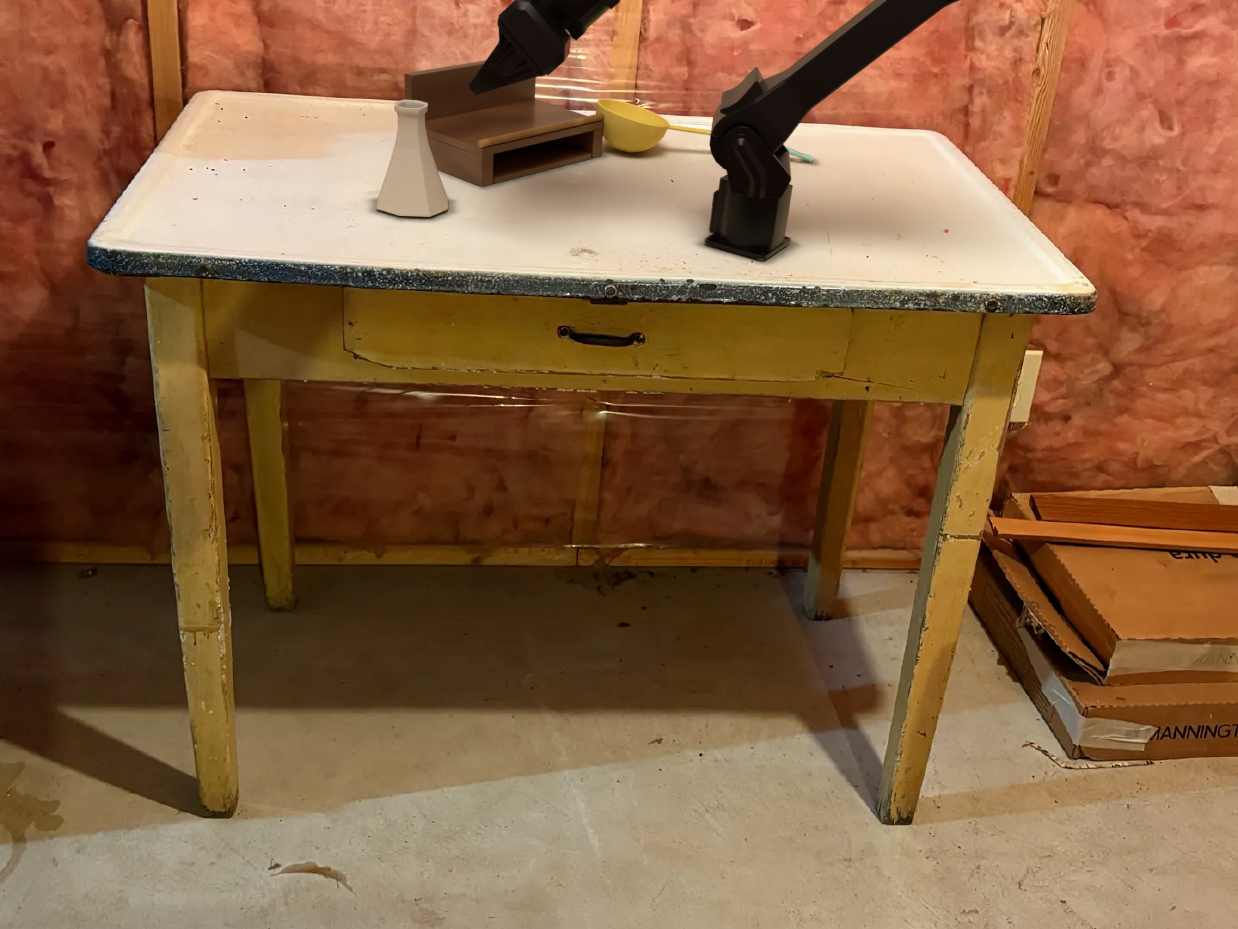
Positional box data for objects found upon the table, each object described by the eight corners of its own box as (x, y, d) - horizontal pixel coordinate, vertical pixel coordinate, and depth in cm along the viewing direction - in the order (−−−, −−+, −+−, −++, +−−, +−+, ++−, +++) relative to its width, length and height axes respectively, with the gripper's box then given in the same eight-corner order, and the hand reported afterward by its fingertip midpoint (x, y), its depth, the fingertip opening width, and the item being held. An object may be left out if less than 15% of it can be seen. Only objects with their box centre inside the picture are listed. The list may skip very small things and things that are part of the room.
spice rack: (601, 155, 132) (607, 75, 127) (481, 186, 119) (483, 99, 115) (526, 130, 138) (529, 52, 134) (405, 157, 126) (403, 73, 121)
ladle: (585, 129, 137) (598, 82, 135) (788, 190, 142) (806, 145, 140) (587, 148, 130) (602, 98, 127) (802, 212, 135) (821, 165, 132)
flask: (435, 223, 109) (434, 118, 104) (363, 212, 110) (359, 108, 105) (459, 200, 115) (460, 99, 110) (391, 190, 116) (388, 90, 111)
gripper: (564, -127, 104) (445, -11, 111) (529, -108, 89) (393, 26, 95) (642, -25, 108) (523, 81, 115) (621, 10, 92) (484, 132, 99)
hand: (482, 78), depth 106 cm, fingers open, 9 cm apart
